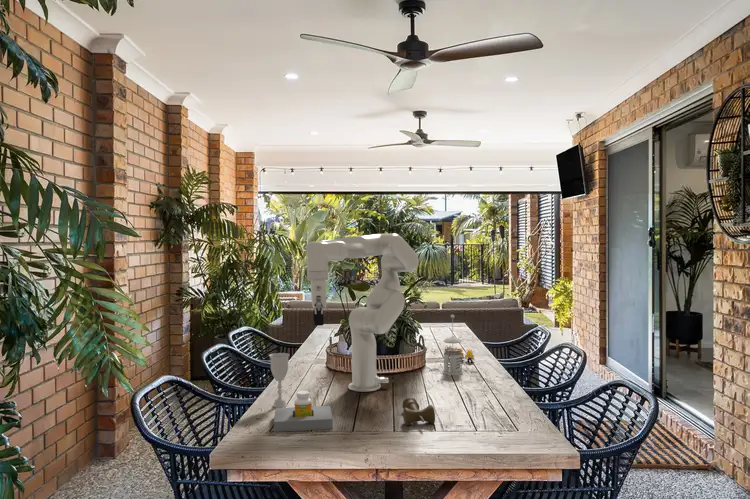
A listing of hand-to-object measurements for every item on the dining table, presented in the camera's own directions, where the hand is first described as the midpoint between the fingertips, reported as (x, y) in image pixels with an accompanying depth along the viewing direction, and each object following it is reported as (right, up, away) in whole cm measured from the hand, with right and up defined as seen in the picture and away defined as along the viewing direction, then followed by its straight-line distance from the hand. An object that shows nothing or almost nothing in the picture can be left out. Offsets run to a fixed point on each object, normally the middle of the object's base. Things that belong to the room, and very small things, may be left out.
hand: (318, 323), depth 208 cm
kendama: (+34, -29, -21) cm, 49 cm away
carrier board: (-3, -29, -23) cm, 37 cm away
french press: (+54, -27, +41) cm, 73 cm away
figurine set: (+60, -26, +64) cm, 92 cm away
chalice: (-13, -29, -4) cm, 32 cm away
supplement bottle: (-3, -29, -22) cm, 37 cm away
